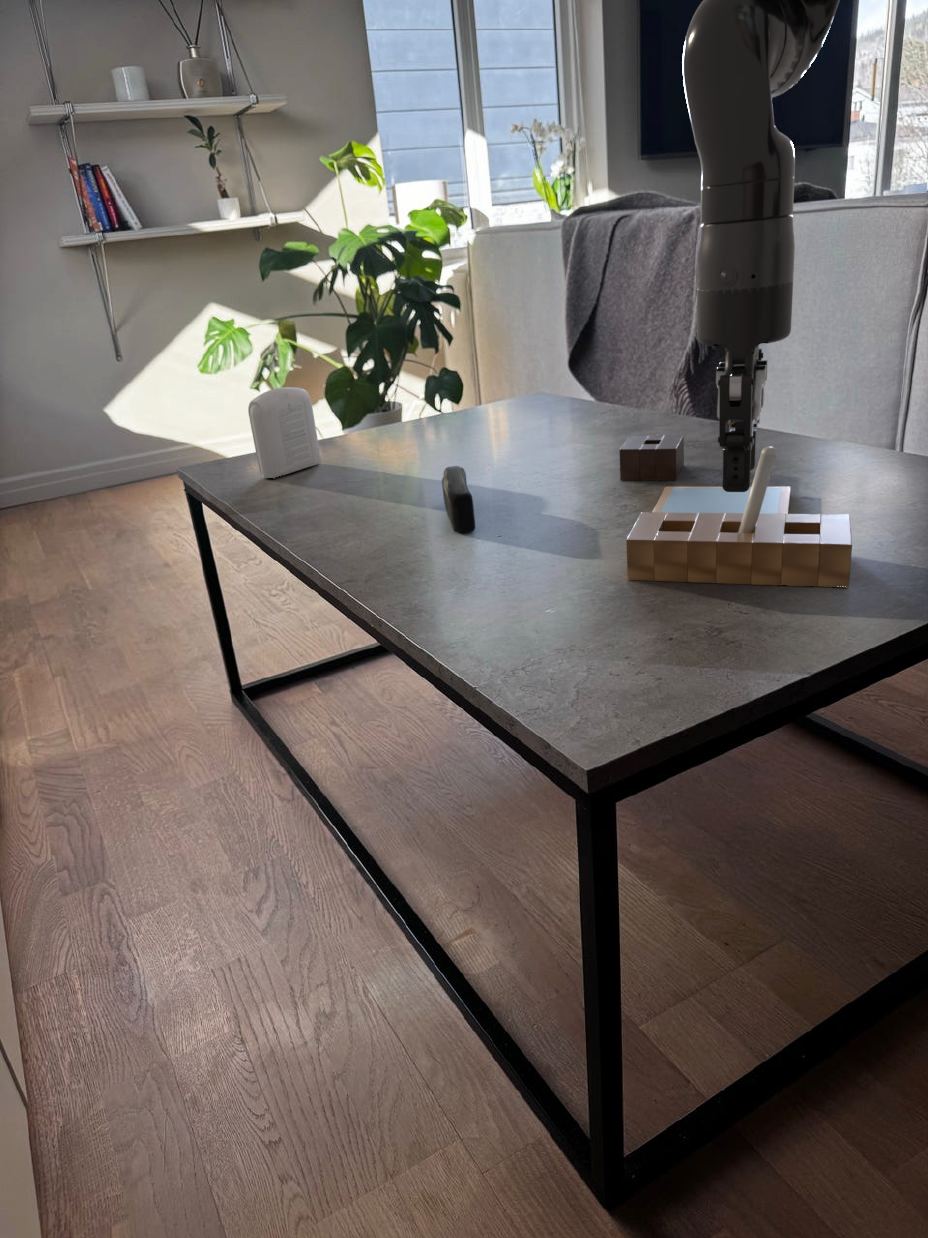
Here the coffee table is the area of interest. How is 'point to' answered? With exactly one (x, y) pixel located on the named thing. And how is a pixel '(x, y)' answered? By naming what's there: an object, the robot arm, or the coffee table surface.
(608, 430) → the coffee table surface
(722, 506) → the tablet
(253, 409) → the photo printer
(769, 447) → the stylus
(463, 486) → the dark grey tall block
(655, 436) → the stand
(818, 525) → the pen holder
